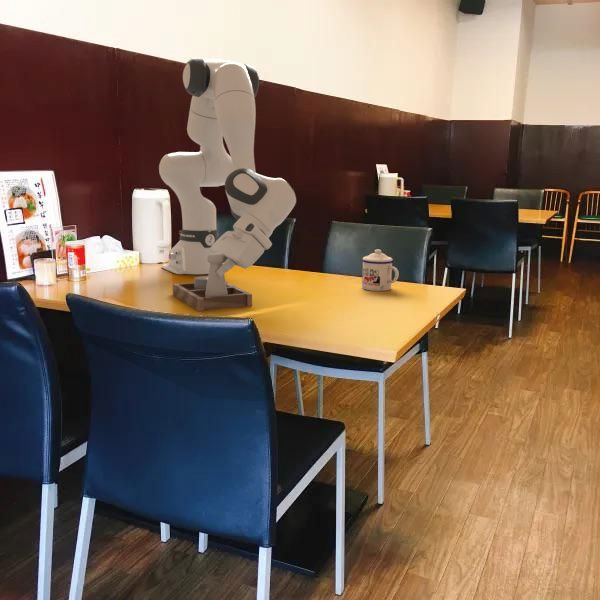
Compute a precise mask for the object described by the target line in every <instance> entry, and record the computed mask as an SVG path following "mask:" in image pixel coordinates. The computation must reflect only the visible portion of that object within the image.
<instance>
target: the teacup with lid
mask: <svg viewBox="0 0 600 600" xmlns="http://www.w3.org/2000/svg"><path fill="white" fill-rule="evenodd" d="M361 261H362V276H361V277H362V278H361V279H362V280H361V288H362V289H363V290H365V291H369V292H371V291H372V292H387V291H389V290H391V289H392V284H393V283H396V282H397V280H398V278H399V275H400V274H399V270H398V268H397V267H396V266H393V262H394V259H393V258H392V257H390V256H388V255H387V254H385V253H383V252H382V250H381V249H374V252H372V253H369V255H365V256H363V257H362V260H361ZM392 271H393V272H394V277H393V279H392Z"/></svg>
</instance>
